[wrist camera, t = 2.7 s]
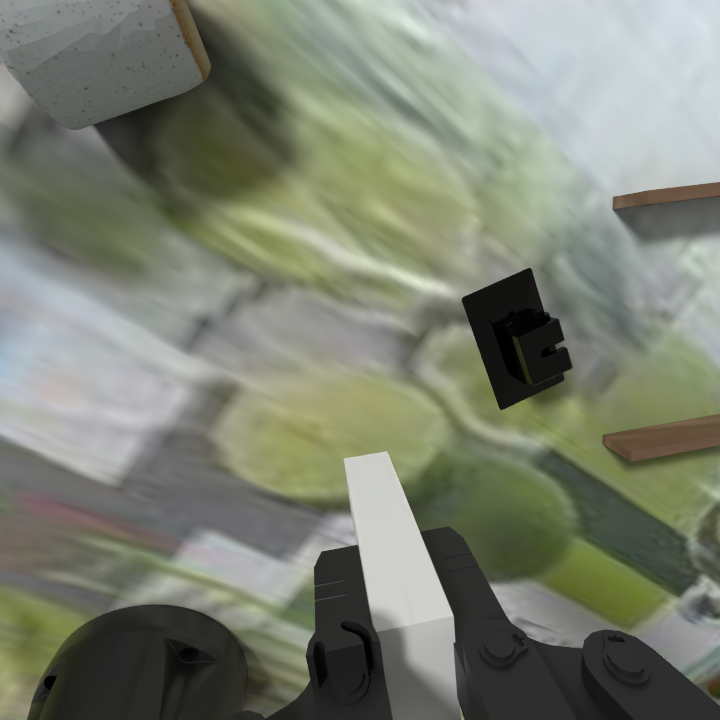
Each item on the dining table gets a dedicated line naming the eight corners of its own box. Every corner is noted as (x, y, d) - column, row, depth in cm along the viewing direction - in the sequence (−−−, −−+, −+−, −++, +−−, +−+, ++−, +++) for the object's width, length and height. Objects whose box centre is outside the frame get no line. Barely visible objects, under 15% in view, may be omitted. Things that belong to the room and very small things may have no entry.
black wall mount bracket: (573, 389, 33) (616, 411, 28) (490, 428, 32) (520, 456, 28) (530, 240, 29) (572, 239, 25) (437, 283, 29) (462, 289, 24)
